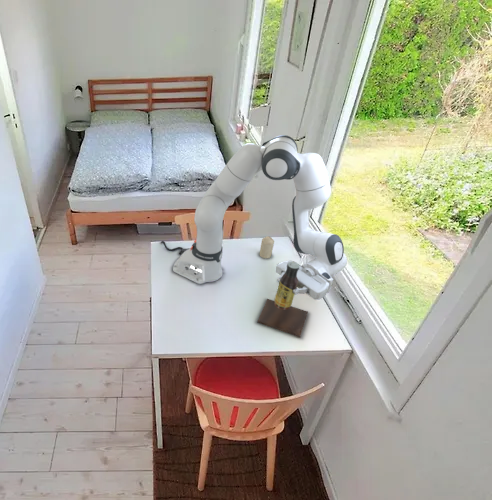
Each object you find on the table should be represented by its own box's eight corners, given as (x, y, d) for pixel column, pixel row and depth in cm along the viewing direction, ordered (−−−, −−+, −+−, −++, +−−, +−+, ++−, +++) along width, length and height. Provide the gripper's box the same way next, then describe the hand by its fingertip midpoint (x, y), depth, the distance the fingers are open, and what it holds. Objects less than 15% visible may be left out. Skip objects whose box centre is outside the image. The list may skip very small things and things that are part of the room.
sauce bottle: (270, 302, 147) (278, 261, 135) (283, 297, 149) (292, 256, 137) (282, 313, 142) (292, 271, 130) (295, 308, 144) (306, 266, 132)
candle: (271, 259, 180) (275, 241, 174) (259, 258, 181) (262, 240, 175) (270, 252, 184) (274, 235, 179) (259, 251, 185) (262, 234, 180)
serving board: (257, 322, 148) (257, 320, 147) (266, 300, 157) (267, 298, 157) (300, 337, 141) (300, 335, 140) (307, 313, 151) (308, 311, 150)
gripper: (292, 253, 150) (266, 265, 144) (337, 281, 135) (310, 295, 130) (289, 265, 154) (263, 277, 148) (332, 294, 139) (306, 309, 134)
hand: (286, 286), depth 139 cm, fingers closed on sauce bottle, 6 cm apart
